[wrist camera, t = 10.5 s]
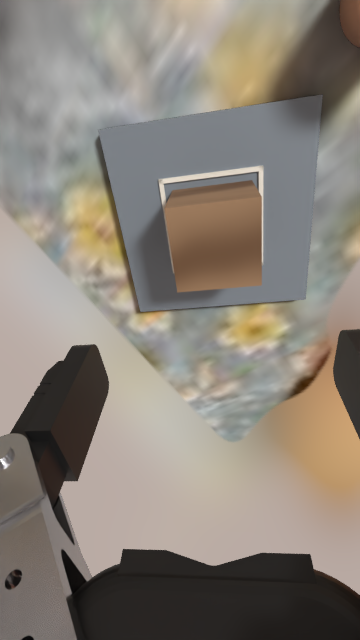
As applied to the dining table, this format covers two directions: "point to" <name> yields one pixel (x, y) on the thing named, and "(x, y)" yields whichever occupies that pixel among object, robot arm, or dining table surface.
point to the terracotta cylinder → (350, 20)
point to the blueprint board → (211, 169)
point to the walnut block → (216, 236)
